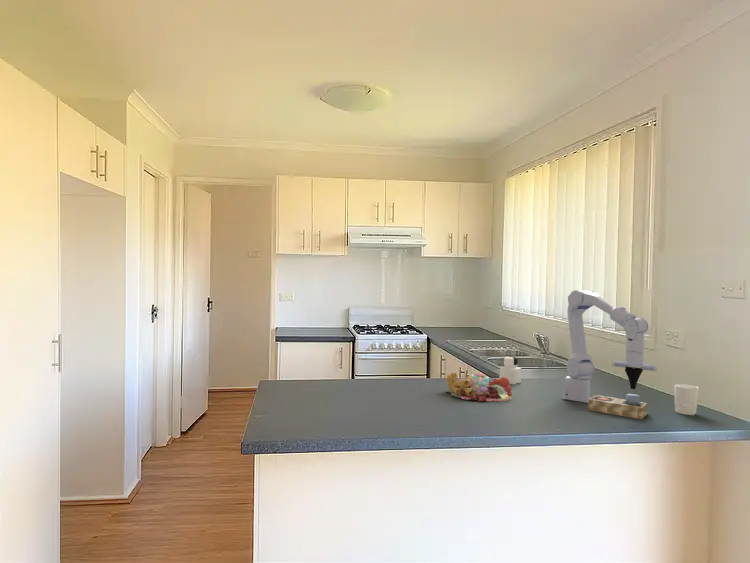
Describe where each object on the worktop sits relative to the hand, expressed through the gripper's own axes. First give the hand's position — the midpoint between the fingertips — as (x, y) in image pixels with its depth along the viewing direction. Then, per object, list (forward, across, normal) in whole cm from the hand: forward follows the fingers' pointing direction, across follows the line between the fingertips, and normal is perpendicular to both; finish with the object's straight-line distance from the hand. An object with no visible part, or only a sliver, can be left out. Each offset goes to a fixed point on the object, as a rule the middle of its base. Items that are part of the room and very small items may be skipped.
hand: (633, 388), depth 188 cm
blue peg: (+6, 0, 0) cm, 6 cm away
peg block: (+9, -5, 0) cm, 11 cm away
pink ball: (+9, -10, 0) cm, 14 cm away
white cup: (+10, +15, +18) cm, 25 cm away
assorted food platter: (+10, -55, -13) cm, 57 cm away
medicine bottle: (+10, -55, +22) cm, 60 cm away
